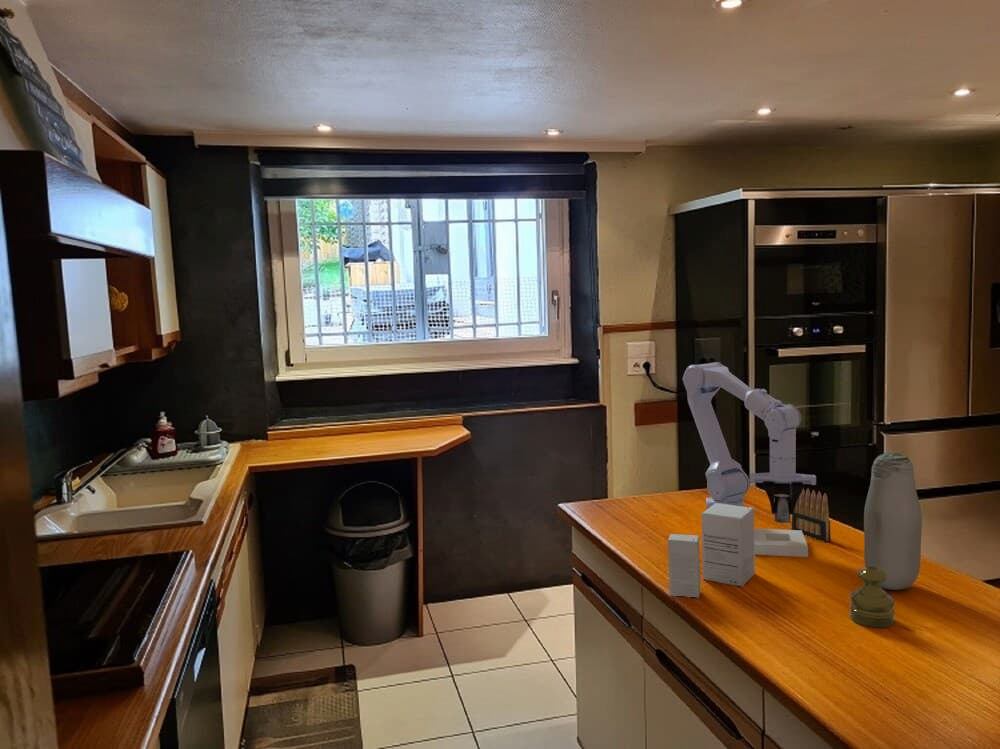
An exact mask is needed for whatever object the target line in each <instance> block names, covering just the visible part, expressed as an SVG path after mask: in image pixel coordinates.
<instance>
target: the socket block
mask: <svg viewBox="0 0 1000 749" xmlns="http://www.w3.org/2000/svg"><path fill="white" fill-rule="evenodd" d="M754 549H755V555H757V556H758V555H759V556H775V557H776V556H779V557H798V558H799V557H800V558H808V557H809V545H808V542H807V541H806V538H805V535H803V533H802V530H792V529H773V528H754Z"/></svg>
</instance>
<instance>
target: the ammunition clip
mask: <svg viewBox="0 0 1000 749" xmlns="http://www.w3.org/2000/svg"><path fill="white" fill-rule="evenodd" d="M829 510H830V509H829V501H828V495H827V493H826V492H824V494H823V496H822V493H821V491H820V490H819V491H818V492H817V494H816V491H815V489H813V490H812V492H810V488H807V489H806V491H805V489H804V487H803V490H802V492H801V494H800V496H799V498H798V500H797V503H796V505H795V509H794V515H791V530H802V533H803V534H804V536H805V535H807V536H806V537H808V536H810V537H809V538H811V537H813V538H812V539H814V538H816V539H815V540H817V539H818V540H817V541H820V540H821V541H820V542H823V541H824V542H823V543H828V542H830V541H832V539H831V521H830V519H829V518H830V516H829V514H830V512H829ZM827 541H828V542H827Z"/></svg>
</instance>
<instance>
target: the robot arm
mask: <svg viewBox="0 0 1000 749" xmlns="http://www.w3.org/2000/svg"><path fill="white" fill-rule="evenodd" d="M729 370H730V369H729V367H727V366H725V365H723V364H722V363H721V362H718V361H714V362H711V363H702V364H690V365H688V366H687V367H686V370H684V374H683V377H682V382H683V385H684V388H685V390H686V395H687V397H686V398H687V404H688V406H689V408H690V411H691V414H692V417H693V419H694V422H695V425H696V428H697V431H698V433H699V437H700V440H701V441H702V445H703V448H704V451H705V453H706V456H707V460H708V462H709V464H710V465H709V467H708V468H707V470H706V472H705V473H704V474H705V478H706V481H707V483H706V484H707V486H706V488H707V492H708V493H709V495H710V497H705V500H706V501H705V502H706V504H705V505H706V508H705V509H706V510H707V509H708V508H710V507H711V506H712V505H714V504H715V503H721V504H728V505H734V506H742V507H744V499H745V498H746V494H747V493H748V491H749V490H750V486H751V484H756V483H759V484H761V483H762V486H763V490H764V491H765V493H766V495H767V498H768V500H769V505H770V511H771V514H773V515H775V495H776V494H775V493H776V487H775V484H789V490H790V491H789V492H790V493H789V494H790V495H789V496H790V516H792V515H794V509H795V505H796V503H797V500H798V498H799V496H800V494H801V492H802V490H803V488H804V485H811V486H816V485H817V476H816V475H815V474H804V473H796V470H797V469H796V466H797V465H796V463H797V461H796V460H797V459H796V457H797V456H796V452H797V450H796V449H797V448H796V447H797V446H796V445H797V444H796V440H797V437H796V435H797V431H796V430H797V428H798V427H799V426H800V425H801V422H802V415H801V412H800V410H799V408H797V407H796V406H795V405H794V404H784V403H783V402H782V401H781V400H780V399H776V398H775V397H773V396H772V395H770V394H769V393H768V391H767V390H766V389H765V388H761V389H760V388H755V389H752V388H751V387H749V386H748V385H747V384H746V383H744V382H743V381H742V380H740V379H739V378H738V377H737V376H736V375H734V374H732V372H730V371H729ZM720 388H722V389H723V390H724V391H726V392H728V393H730V394H731V395H733V396H735V397H736V398H738V399H740V400H741V401H743V403H744V407H745V409H747V410H748V411H749V412H751V413H752V414H753V415H755V416H756V417H758V418H759V419H761V420H762V421H763V422H764V425H765V427H766V429H767V431H768V432H767V433H768V434H767V435H768V438H769V472H757V473H756V472H755V473H754V472H753V473H752V472H751V473H749V476H748V475H747V474H746V472H745V471H744V470H743V468H742V465H741V463H739V462H737V461H736V460H735V459H733V458H732V457H731V454H730V450H729V448H728V446H727V442H726V439H725V437H724V435H723V432H722V429H721V426H720V423H719V420H718V418H717V416H716V412H715V410H714V407H713V405H712V399H713V397H714V396H715V395H716V393H717V392H718V391H719V390H720ZM706 510H705V511H706Z"/></svg>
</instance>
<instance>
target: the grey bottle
mask: <svg viewBox="0 0 1000 749" xmlns="http://www.w3.org/2000/svg"><path fill="white" fill-rule="evenodd" d="M863 510H864V511H863V536H864V537H863V538H864V539H863V540H864V541H863V542H864V544H863V545H864V547H863V548H864V550H863V552H864V554H863V556H864V559H863V560H864V566H865V567H864V568H867V567H876V568H877V569H879V570H881V571H883V572H885V573H886V574H887V579H886V580H885V581H883V582H882V583H881V584H880V586H881V588H882V589H883V590H889V591H890V590H891V591H899V590H905V589H907V588H909V587H911V586H912V585H914V583H915V582H916V580H917V579H918V576H919V573H920V569H921V554H922V552H921V550H922V549H921V548H922V528H923V526H922V525H923V523H922V522H923V519H922V518H923V516H922V508H921V503H920V499H919V496H918V493H917V488H916V482H915V471H914V465H913V463H912V461H911V460H910V458H909V457H907V456H906V455H904V454H901V453H898V452H885V453H882V454H880V455H878V456H877V457H875V459H874V461H873V463H872V466H871V477H870V483H869V487H868V492H867V495H866V500H865V505H864V509H863Z"/></svg>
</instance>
